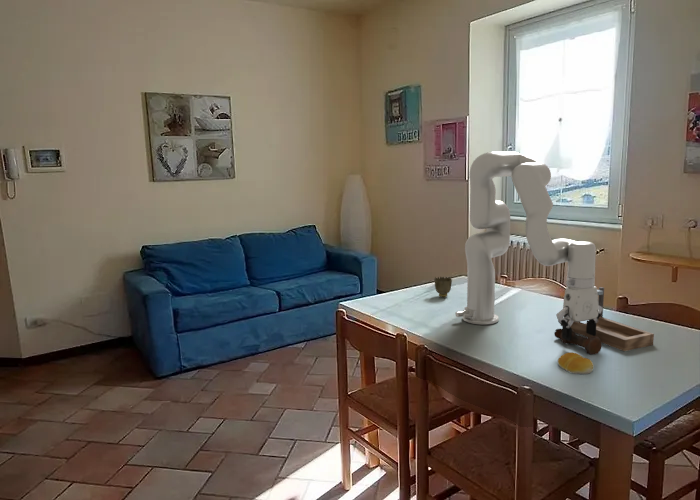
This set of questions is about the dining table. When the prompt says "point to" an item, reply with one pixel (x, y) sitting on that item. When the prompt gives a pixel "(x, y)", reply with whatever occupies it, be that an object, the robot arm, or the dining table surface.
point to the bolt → (582, 342)
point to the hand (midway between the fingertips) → (579, 336)
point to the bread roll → (575, 363)
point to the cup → (443, 285)
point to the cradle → (615, 332)
